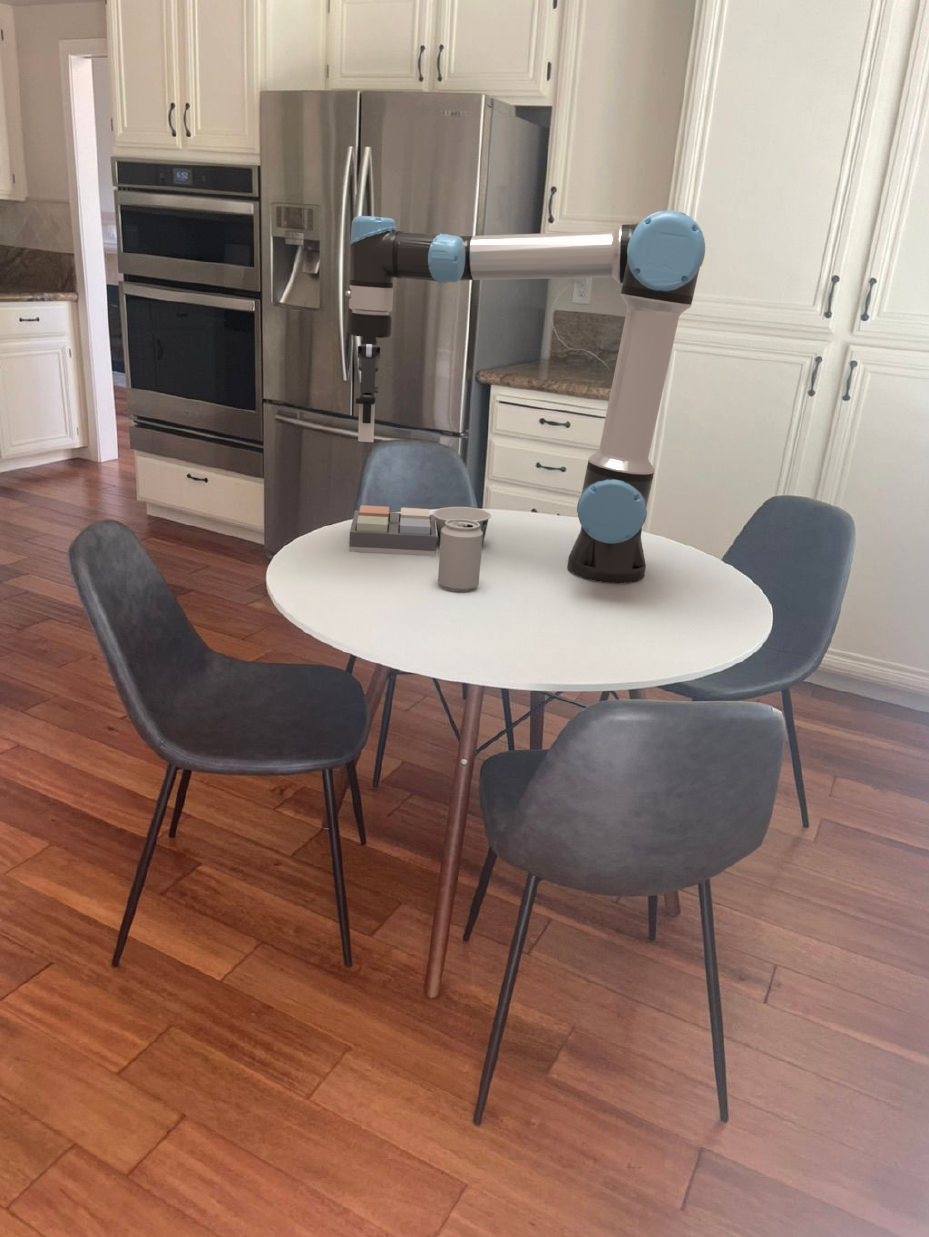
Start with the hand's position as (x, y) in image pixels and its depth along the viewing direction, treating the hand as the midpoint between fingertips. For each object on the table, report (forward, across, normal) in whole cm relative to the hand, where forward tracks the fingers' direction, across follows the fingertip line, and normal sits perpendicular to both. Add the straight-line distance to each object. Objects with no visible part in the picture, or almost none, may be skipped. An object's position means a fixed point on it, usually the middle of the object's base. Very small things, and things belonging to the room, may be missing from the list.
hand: (366, 434), depth 171 cm
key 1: (+21, -10, +2) cm, 24 cm away
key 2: (+21, -19, +2) cm, 29 cm away
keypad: (+24, -14, +6) cm, 29 cm away
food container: (+24, -15, +20) cm, 35 cm away
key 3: (+21, -10, +10) cm, 26 cm away
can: (+24, +12, +18) cm, 33 cm away
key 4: (+21, -19, +11) cm, 30 cm away
